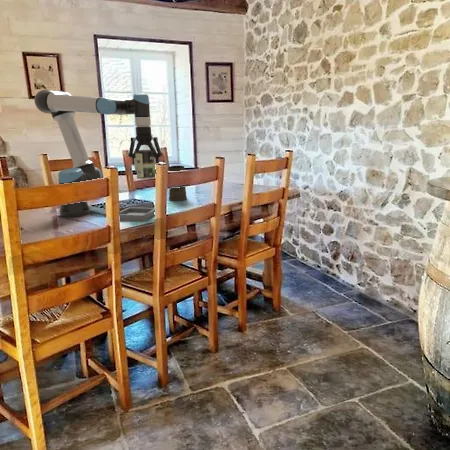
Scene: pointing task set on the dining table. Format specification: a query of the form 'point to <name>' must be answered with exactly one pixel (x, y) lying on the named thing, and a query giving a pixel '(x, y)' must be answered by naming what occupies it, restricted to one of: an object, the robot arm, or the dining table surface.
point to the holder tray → (136, 214)
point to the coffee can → (145, 164)
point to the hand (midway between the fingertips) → (146, 170)
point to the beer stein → (177, 193)
